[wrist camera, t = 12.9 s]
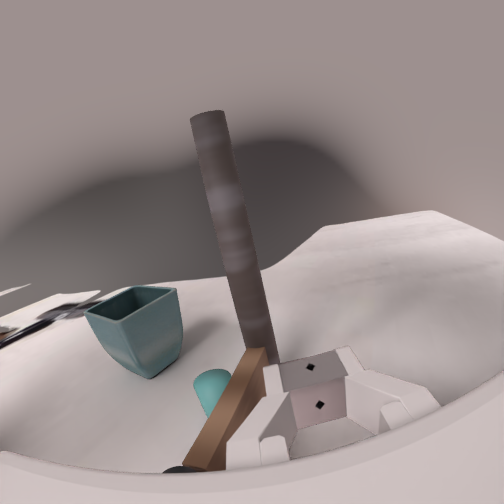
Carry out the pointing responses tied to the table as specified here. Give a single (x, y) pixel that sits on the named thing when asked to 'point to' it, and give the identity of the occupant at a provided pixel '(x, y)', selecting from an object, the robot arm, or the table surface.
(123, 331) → the flower pot
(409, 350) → the table surface
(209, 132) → the brown board with post
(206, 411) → the post
